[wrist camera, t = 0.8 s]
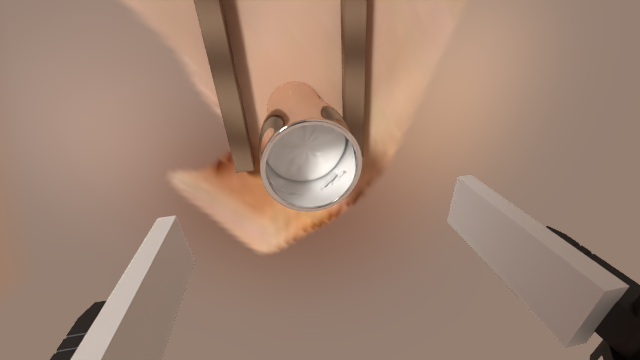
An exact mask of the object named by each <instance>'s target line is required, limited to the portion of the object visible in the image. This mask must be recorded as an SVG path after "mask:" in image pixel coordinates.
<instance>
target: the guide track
mask: <svg viewBox="0 0 640 360" xmlns="http://www.w3.org/2000/svg"><path fill="white" fill-rule="evenodd" d="M194 4H195V8H196V12H197V16H198V20H199V24H200V28H201V32H202V36H203V40H204V44H205V49H206V53H207V57H208V61H209V65H210V69H211V73H212V77H213V81H214V85H215V89H216V93H217V97H218V101H219V105H220V109H221V113H222V117H223V121H224V125H225V129H226V133H227V138H228V142H229V146H230V150H231V154H232V158H233V162H234V166H235V170H236V173H238V172H246V171H254V166H255V163H254V158H253V153H252V148H251V143H250V138H249V133H248V128H247V123H246V118H245V113H244V109H243V104H242V99H241V94H240V89H239V84H238V79H237V74H236V69H235V64H234V59H233V55H232V50H231V45H230V40H229V35H228V30H227V25H226V20H225V15H224V10H223V5H222V1H221V0H194ZM366 9H367V0H341V44H342V100H343V119H344V121H345V122H346V124H347V125H348V127H349V129H350V131H351V132H352V134H353V136H354V138H355V139H356V141H357V143H358V145H359V147H360V150H361V154H362V157H363V141H364V97H365V53H366Z"/></svg>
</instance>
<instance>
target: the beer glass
mask: <svg viewBox="0 0 640 360" xmlns="http://www.w3.org/2000/svg"><path fill="white" fill-rule="evenodd" d="M259 160H260V175H261V179H262V182H263V185H264V187H265V189H266V190H267V192H268V193H269V194H270V196H271V197H272V198H273V199H274V200H276V201H277V202H278V203H280V204H281V205H283V206H285V207H287V208H290V209H293V210H297V211H306V212H310V211H319V210H323V209H326V208H329V207H331V206H334V205H335V204H337V203H339V202H340V201H342V200H343V199H344V198H345V197H347V196H348V195H349V194H350V192H351V191H352V190H353V189H354V187H355V186H356V184H357V182H358V180H359V178H360V175H361V171H362V154H361V150H360V147H359V145H358V143H357V141H356V139H355V138H354V136H353V134H352V132H351V131H350V129H349V127H348V125H347V124H346V122H345V121H344V119H343V118H342V116H341V115H340V114H339V113H338V112H337V111H336V110H335V109H334V108H333V107H332V106H331V105H330V104H328V103H327V102H325V101H323V100H321V99H320V98H319V96H318V94H317V93H316V92H315V90H314V89H313V88H311V87H310V86H309V85H307V84H305V83H302V82H296V81H292V82H287V83H284V84H282V85H280V86H278V87H277V88H276V89H275V90H274V91H273V92H272V94H271V95H270V97H269V100H268V104H267V116H266V118H265V120H264V122H263V124H262V127H261V132H260V137H259Z"/></svg>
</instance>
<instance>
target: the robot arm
mask: <svg viewBox="0 0 640 360" xmlns="http://www.w3.org/2000/svg"><path fill="white" fill-rule="evenodd" d="M447 222H448V223H449V224H450V225H451V226H452V227H453V228H454V229H455V230H456V231H457V232H458V234H460V236H461V237H462V238H463V239H464V240H465V241H466V242H467V243H468V244H469V245H470V246H471V248H472V249H473V250H474V251H475V252H476V253H477V254H478V255H479V256H480V257H481V258H482V259H483V260H484V261H485V262H486V264H487V265H488V266H489V267H490V268H491V269H492V270H493V271H494V272H495V273H496V274H497V275H498V276H499V277H500V278H501V280H503V282H504V283H505V284H506V285H507V286H508V287H509V288H510V289H511V290H512V291H513V292H514V293H515V295H516V296H517V297H518V298H519V299H520V300H521V301H522V302H523V303H524V304H525V305H526V306H527V307H528V308H529V310H530V311H532V313H533V314H534V315H535V316H536V317H537V318H538V319H539V320H540V321H541V322H542V323H543V325H544V326H546V328H547V329H548V330H549V331H550V332H551V333H552V334H553V335H554V336H555V337H556V338H557V339H558V341H559V342H560V343H561V344H562V345H563V346H564V347H565V348H566V347H570V346H574V345H579V344H583V343H586V342H587V341H588V339H589V338H590V337H591V336H592V334H593V333H594V332H596V333H597V334H598V335H599V336H600V337H601V338H603V341H602V342H601V343H600V344H599V346H598V347H597V348H596V349H595V351H594V352H593V353H592V354H591V355H590V360H598V359H599V358H600V356H603V360H640V285H639V284H637V283H636V282H635V281H633V280H632V279H630V278H629V277H627V276H626V275H624V274H623V273H621V272H620V271H619V270H617V269H616V268H614V267H612V266H611V265H610V264H608V263H607V262H605V261H604V260H602V259H601V258H599V257H598V256H596V255H595V254H592V253H591V252H590V251H589V250H588V249H586V248H585V247H583V246H580V245H579V243H577V242H576V241H575V240H573V239H572V238H570V237H568V236H567V235H566V234H564V233H562V232H559V231H557V230H555V229H553V228H551V227H548V226H546V227H545V226H543V225H542V224H541V223H539V222H538V221H536V220H535V219H534V218H532V217H531V216H529V215H528V214H526V213H525V212H524V211H522V210H521V209H519V208H518V207H517V206H515V205H514V204H512V203H511V202H509V201H508V200H507V199H505V198H504V197H502V196H501V195H499V194H498V193H496V192H495V191H494V190H492V189H491V188H490V187H488V186H487V185H485V184H484V183H482V182H481V181H480V180H478V179H477V178H475V177H474V176H473V175H466V176H459V177H457V180H456V184H455V189H454V193H453V198H452V202H451V207H450V211H449V216H448V220H447ZM194 262H195V260H194V258H193V256H192V253H191V250H190V248H189V246H188V243H187V240H186V238H185V236H184V233H183V231H182V228H181V226H180V223H179V221H178V218H177V216H170V217H162V218H158V219H157V220H156V222H155V223H154V225H153V227H152V228H151V230H150V232H149V233H148V235H147V236H146V238H145V240H144V241H143V243H142V245H141V246H140V248H139V250H138V251H137V253H136V254H135V256H134V258H133V259H132V261H131V262H130V264H129V266H128V267H127V269H126V271H125V272H124V274H123V276H122V277H121V279H120V280H119V282H118V284H117V285H116V287H115V288H114V290H113V292H112V293H111V295H110V296H109V298H108V300H107V301H101V302H96V303H94V304H93V305H92V306H91V307H90V308H89V309H87V310H86V311H85V312H84V313H83V314H82V315H81V316H80V317H79V318H78V319H77V321H76V322H75V324H74V325H73V327H72V328H71V330H70V331H69V333H68V334H67V338H66V339H64V340H63V341H62V343H61V344H60V346H59V347H58V349H57V353H56V354H54V355H53V356H52V358H51V359H50V360H162V357H163V354H164V351H165V348H166V345H167V342H168V340H169V336H170V334H171V331H172V328H173V325H174V321H175V319H176V316H177V313H178V310H179V307H180V304H181V301H182V298H183V295H184V292H185V289H186V286H187V283H188V280H189V277H190V274H191V271H192V268H193V265H194Z"/></svg>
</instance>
